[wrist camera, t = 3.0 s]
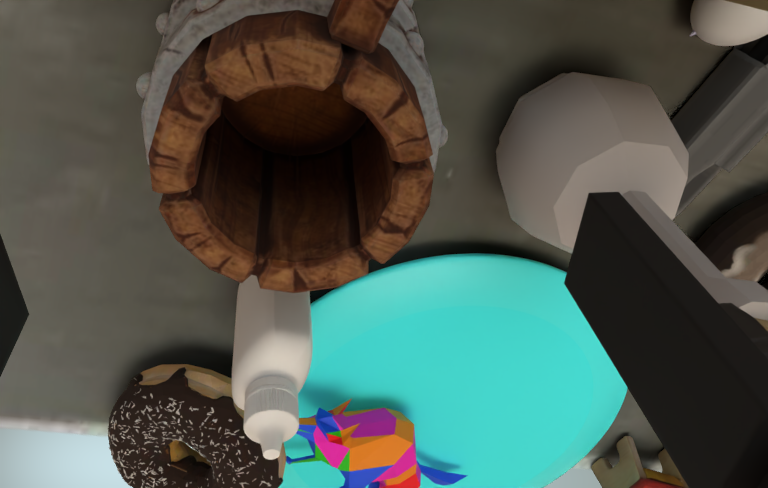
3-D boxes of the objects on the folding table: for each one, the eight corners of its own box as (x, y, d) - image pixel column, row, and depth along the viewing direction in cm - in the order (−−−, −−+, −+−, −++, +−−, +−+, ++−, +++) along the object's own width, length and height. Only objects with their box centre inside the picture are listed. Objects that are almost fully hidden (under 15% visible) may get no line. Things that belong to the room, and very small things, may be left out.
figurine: (233, 417, 37) (364, 339, 36) (351, 511, 46) (456, 451, 46) (241, 477, 33) (385, 393, 33) (366, 565, 43) (479, 501, 43)
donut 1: (148, 466, 44) (115, 515, 41) (113, 336, 38) (71, 382, 35) (297, 499, 42) (276, 554, 39) (287, 368, 36) (260, 420, 33)
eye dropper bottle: (333, 276, 37) (355, 447, 27) (259, 324, 38) (254, 503, 28) (285, 228, 34) (290, 397, 25) (208, 281, 36) (184, 461, 26)
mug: (126, 146, 30) (24, 300, 17) (221, -175, 26) (184, -317, 12) (351, 221, 34) (415, 396, 20) (467, -47, 29) (647, -48, 16)
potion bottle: (456, 186, 34) (590, 469, 20) (532, 29, 30) (775, 248, 15) (589, 221, 37) (791, 494, 23) (676, 82, 33) (998, 310, 18)
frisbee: (179, 299, 35) (174, 326, 34) (642, 204, 36) (662, 225, 35) (290, 545, 51) (291, 573, 50) (610, 475, 52) (623, 500, 50)
